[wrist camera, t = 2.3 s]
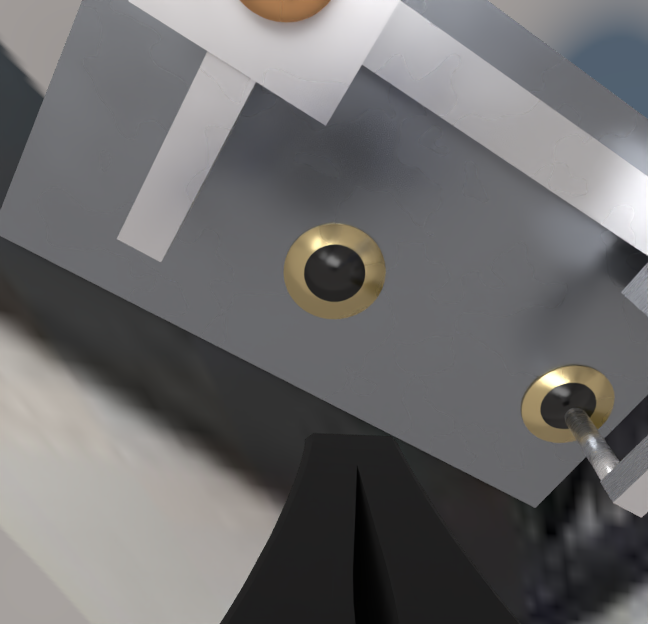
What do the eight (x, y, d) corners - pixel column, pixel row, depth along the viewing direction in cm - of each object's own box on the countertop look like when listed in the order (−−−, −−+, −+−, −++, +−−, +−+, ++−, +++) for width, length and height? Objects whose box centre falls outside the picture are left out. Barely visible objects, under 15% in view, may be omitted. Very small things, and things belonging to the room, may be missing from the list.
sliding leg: (415, -58, 14) (463, -101, 9) (243, 240, 17) (214, 322, 12) (262, -172, 13) (229, -283, 8) (109, 165, 16) (21, 222, 11)
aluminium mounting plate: (785, 227, 18) (1005, 322, 12) (528, 492, 22) (600, 654, 17) (180, -219, 13) (76, -402, 8) (5, 223, 18) (-146, 318, 12)
